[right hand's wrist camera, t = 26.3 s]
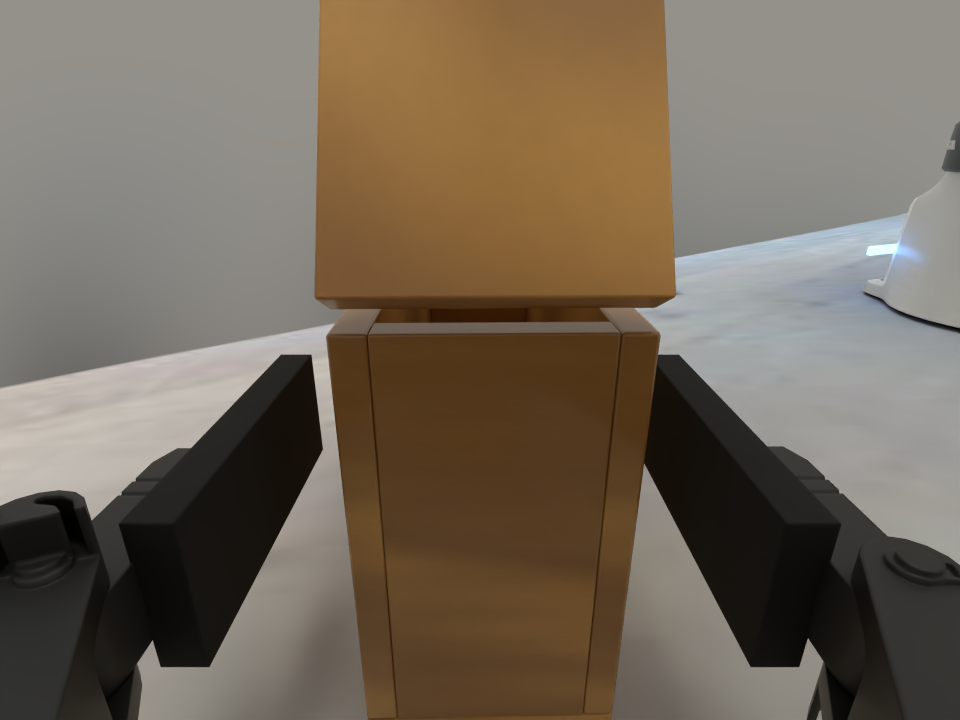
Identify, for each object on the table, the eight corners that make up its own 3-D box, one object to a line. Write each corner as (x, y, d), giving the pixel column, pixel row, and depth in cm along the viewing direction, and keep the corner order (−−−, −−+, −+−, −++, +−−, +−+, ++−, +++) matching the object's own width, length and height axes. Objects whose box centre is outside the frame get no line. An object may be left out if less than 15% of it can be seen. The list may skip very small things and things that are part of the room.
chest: (422, 422, 26) (413, 219, 23) (534, 421, 26) (542, 219, 23) (369, 739, 12) (324, 334, 9) (610, 734, 12) (662, 332, 9)
